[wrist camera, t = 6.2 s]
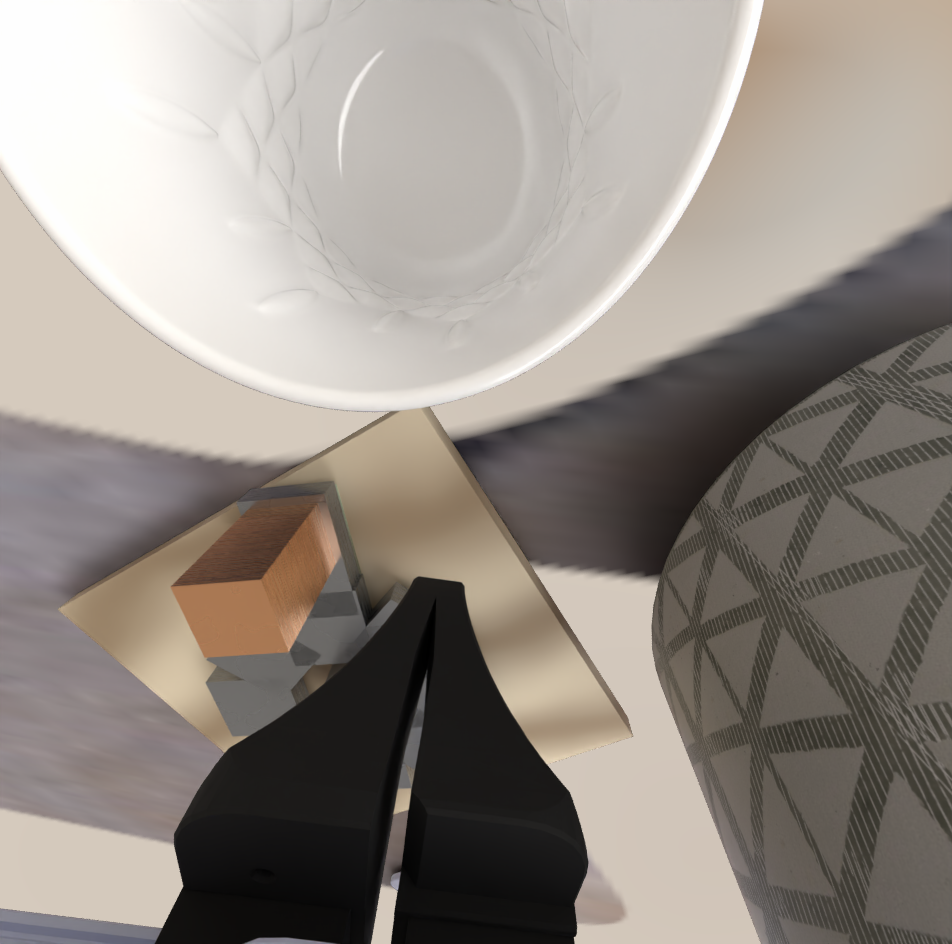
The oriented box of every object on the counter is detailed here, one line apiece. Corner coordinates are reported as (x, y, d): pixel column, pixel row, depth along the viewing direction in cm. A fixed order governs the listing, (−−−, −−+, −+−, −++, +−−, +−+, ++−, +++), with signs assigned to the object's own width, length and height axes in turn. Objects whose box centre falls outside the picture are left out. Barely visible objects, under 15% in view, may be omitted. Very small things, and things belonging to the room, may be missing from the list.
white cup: (365, 349, 15) (175, 475, 6) (258, 58, 12) (-408, -510, 3) (602, 280, 14) (789, 314, 5) (550, -59, 11) (780, -1447, 2)
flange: (499, 763, 22) (499, 896, 17) (270, 772, 23) (213, 901, 18) (452, 469, 16) (433, 555, 11) (141, 499, 16) (6, 590, 12)
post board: (627, 716, 22) (670, 867, 17) (329, 817, 26) (285, 963, 21) (421, 393, 16) (381, 462, 10) (77, 593, 20) (-78, 715, 15)
